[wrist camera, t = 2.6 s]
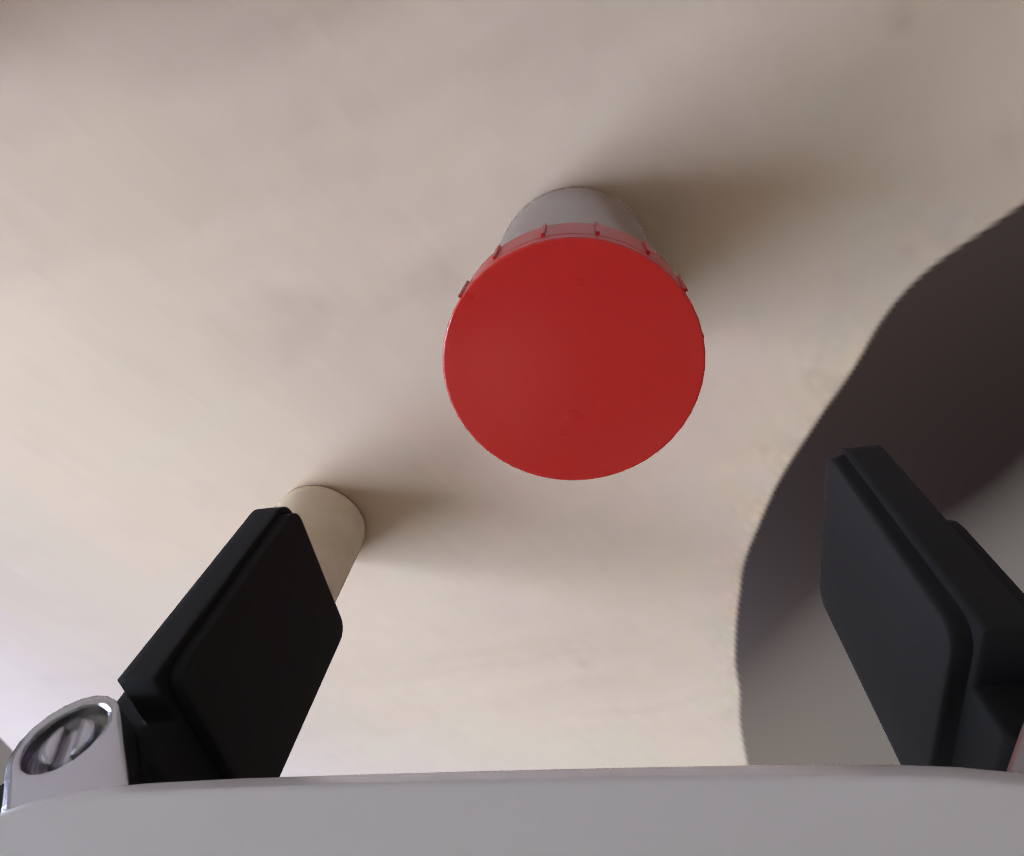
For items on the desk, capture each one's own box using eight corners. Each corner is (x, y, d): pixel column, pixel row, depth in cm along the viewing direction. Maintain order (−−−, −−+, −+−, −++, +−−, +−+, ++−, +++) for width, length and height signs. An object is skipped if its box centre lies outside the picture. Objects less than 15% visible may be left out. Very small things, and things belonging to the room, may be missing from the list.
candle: (346, 476, 36) (271, 601, 27) (380, 551, 38) (321, 688, 29) (261, 492, 37) (163, 617, 28) (299, 564, 39) (220, 700, 31)
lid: (498, 182, 18) (489, 193, 16) (738, 276, 19) (757, 297, 17) (427, 403, 22) (413, 433, 20) (631, 475, 22) (636, 511, 20)
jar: (529, 162, 27) (498, 205, 17) (677, 220, 28) (736, 297, 17) (479, 309, 30) (428, 420, 20) (612, 358, 31) (630, 491, 21)
